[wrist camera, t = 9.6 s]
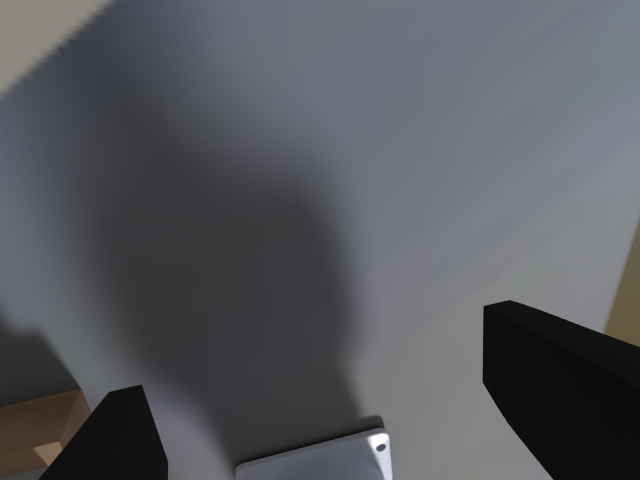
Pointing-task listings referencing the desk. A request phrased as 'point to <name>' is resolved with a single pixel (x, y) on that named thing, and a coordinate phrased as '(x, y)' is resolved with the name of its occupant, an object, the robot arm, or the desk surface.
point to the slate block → (27, 475)
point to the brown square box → (39, 430)
